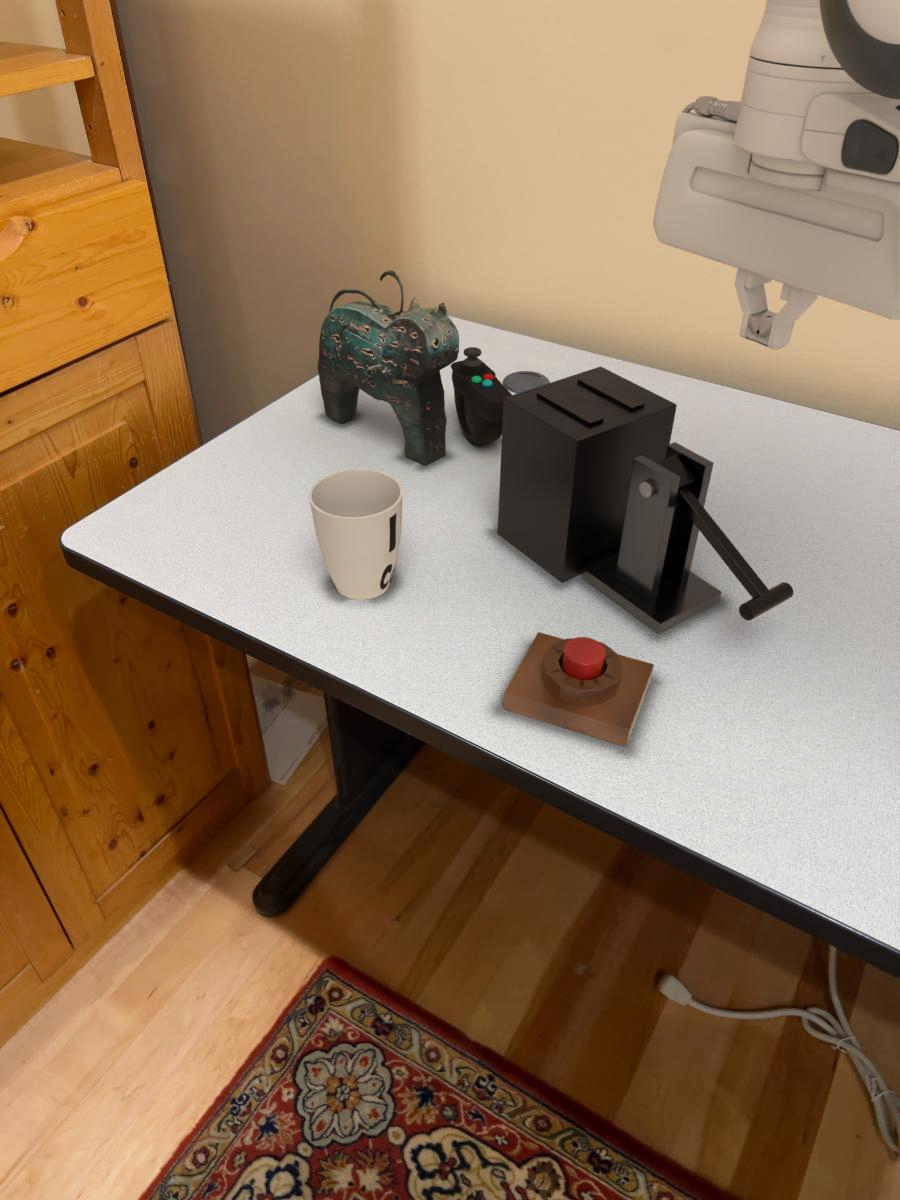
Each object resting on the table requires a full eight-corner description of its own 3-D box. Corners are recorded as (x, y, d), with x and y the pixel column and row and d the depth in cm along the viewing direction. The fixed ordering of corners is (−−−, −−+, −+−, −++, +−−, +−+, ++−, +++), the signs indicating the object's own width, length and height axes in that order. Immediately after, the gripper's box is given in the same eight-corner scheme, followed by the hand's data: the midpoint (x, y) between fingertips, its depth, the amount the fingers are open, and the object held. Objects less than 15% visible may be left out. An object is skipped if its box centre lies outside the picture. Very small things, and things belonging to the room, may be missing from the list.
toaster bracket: (719, 602, 81) (752, 471, 72) (658, 634, 78) (685, 501, 69) (641, 550, 87) (663, 424, 79) (581, 578, 84) (597, 449, 75)
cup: (402, 611, 80) (399, 519, 74) (313, 610, 80) (302, 517, 74) (408, 558, 86) (405, 469, 80) (325, 557, 86) (315, 468, 80)
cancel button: (607, 659, 70) (610, 643, 69) (596, 685, 68) (598, 668, 67) (569, 648, 71) (571, 632, 70) (556, 673, 69) (558, 657, 68)
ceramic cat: (462, 457, 102) (465, 283, 89) (423, 478, 98) (420, 300, 85) (348, 403, 112) (336, 240, 100) (308, 420, 108) (291, 253, 96)
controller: (478, 416, 110) (480, 338, 103) (519, 463, 101) (525, 381, 94) (445, 422, 108) (446, 343, 102) (485, 470, 99) (488, 387, 93)
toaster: (652, 541, 89) (677, 401, 79) (562, 583, 83) (577, 438, 74) (585, 497, 95) (601, 363, 85) (497, 533, 90) (503, 394, 80)
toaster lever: (783, 604, 73) (800, 589, 71) (743, 626, 71) (759, 612, 69) (674, 466, 78) (687, 449, 76) (633, 483, 75) (645, 466, 73)
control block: (650, 680, 73) (657, 649, 71) (626, 747, 67) (632, 715, 65) (536, 648, 76) (539, 617, 74) (503, 709, 70) (505, 677, 68)
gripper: (649, 96, 57) (622, 307, 66) (947, 153, 44) (866, 407, 53) (713, 86, 60) (680, 290, 69) (1012, 138, 47) (924, 380, 56)
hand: (763, 341), depth 61 cm, fingers closed
